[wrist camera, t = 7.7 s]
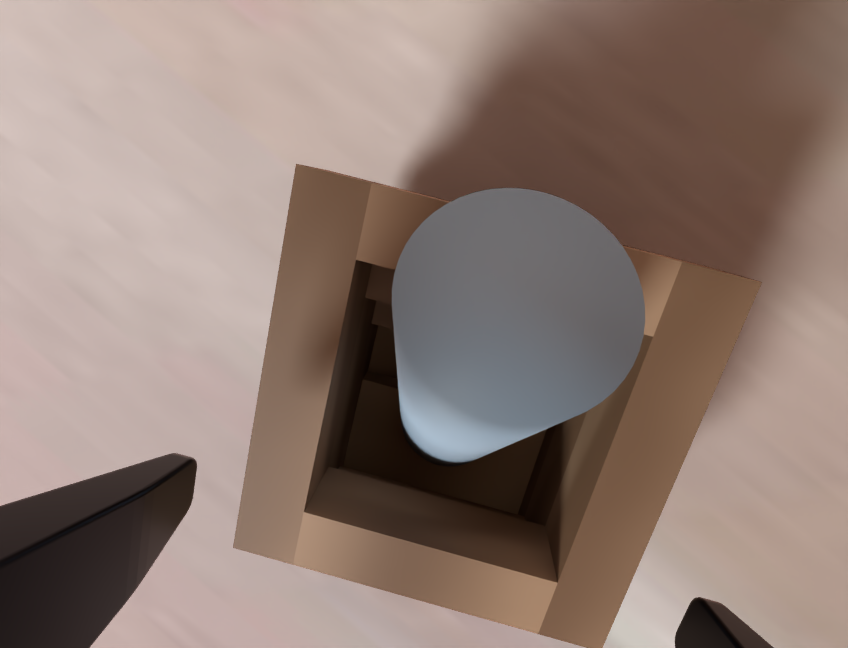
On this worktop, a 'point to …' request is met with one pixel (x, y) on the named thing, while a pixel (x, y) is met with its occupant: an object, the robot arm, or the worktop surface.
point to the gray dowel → (509, 321)
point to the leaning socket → (479, 479)
